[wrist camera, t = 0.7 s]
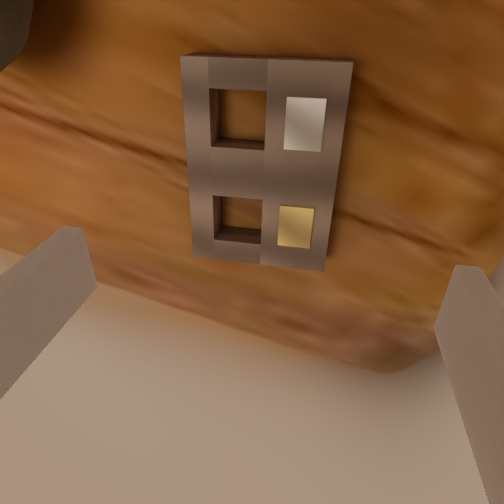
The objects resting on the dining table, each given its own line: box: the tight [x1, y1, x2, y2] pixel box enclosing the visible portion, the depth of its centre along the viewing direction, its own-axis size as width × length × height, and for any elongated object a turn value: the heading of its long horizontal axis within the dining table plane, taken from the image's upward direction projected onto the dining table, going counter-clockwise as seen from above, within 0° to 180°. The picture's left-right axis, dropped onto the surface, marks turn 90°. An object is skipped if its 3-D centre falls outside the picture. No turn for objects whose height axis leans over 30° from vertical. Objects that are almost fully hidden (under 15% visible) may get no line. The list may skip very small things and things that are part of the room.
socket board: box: [180, 53, 354, 271], centre depth 34 cm, size 18×13×3 cm
